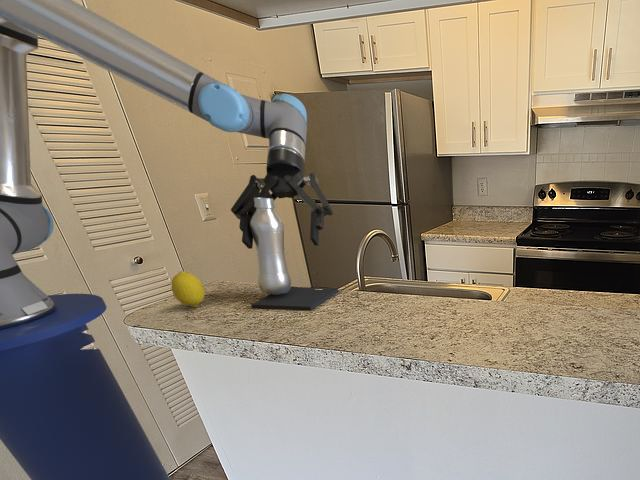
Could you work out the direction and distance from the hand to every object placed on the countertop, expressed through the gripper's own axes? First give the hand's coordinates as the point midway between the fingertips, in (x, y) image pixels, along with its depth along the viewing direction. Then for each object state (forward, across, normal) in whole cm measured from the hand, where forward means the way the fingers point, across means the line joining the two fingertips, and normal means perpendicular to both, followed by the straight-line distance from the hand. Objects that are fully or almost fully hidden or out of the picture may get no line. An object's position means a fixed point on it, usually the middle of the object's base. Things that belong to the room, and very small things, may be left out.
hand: (280, 243), depth 84 cm
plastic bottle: (+7, +5, -9) cm, 13 cm away
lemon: (+10, +21, -8) cm, 25 cm away
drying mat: (+8, 0, -9) cm, 12 cm away
